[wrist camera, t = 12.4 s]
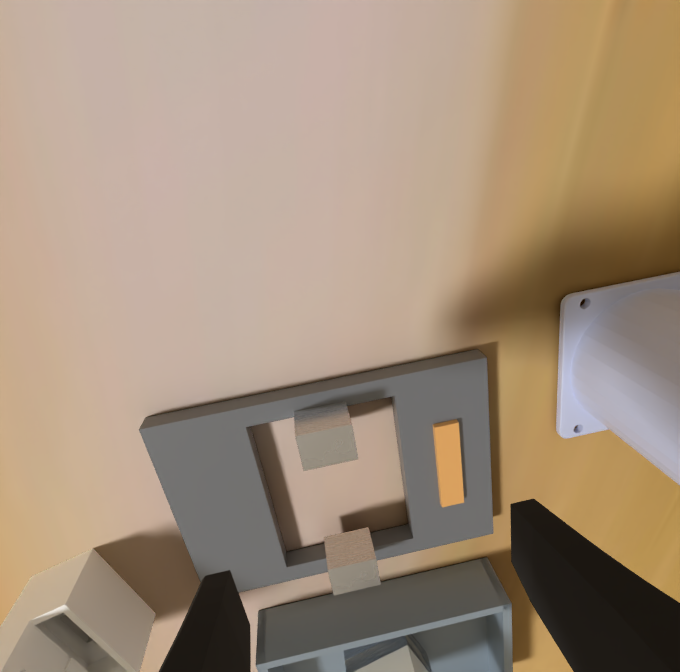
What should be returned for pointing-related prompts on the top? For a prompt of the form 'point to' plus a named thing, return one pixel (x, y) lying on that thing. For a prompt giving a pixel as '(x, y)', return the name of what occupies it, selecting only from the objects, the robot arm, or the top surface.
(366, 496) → the top surface
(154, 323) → the top surface
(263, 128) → the top surface
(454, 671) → the tray
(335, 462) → the frame
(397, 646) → the tan rectangular block
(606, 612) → the robot arm
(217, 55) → the top surface
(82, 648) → the white wedge bracket
